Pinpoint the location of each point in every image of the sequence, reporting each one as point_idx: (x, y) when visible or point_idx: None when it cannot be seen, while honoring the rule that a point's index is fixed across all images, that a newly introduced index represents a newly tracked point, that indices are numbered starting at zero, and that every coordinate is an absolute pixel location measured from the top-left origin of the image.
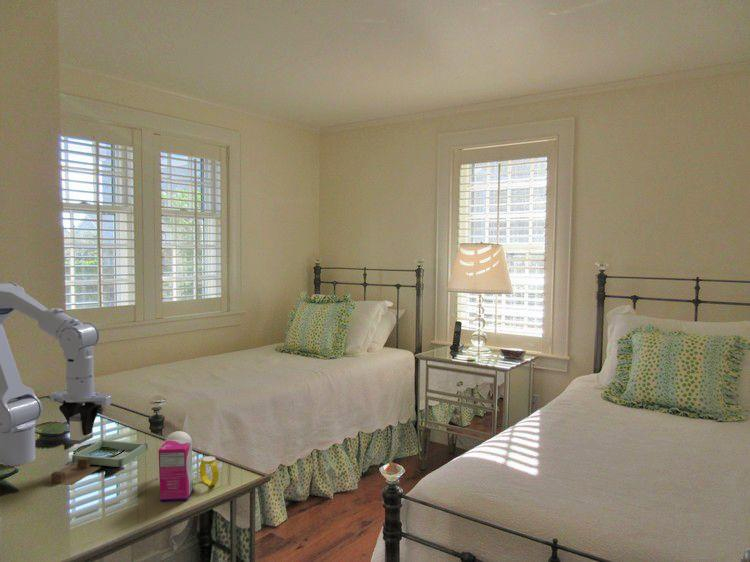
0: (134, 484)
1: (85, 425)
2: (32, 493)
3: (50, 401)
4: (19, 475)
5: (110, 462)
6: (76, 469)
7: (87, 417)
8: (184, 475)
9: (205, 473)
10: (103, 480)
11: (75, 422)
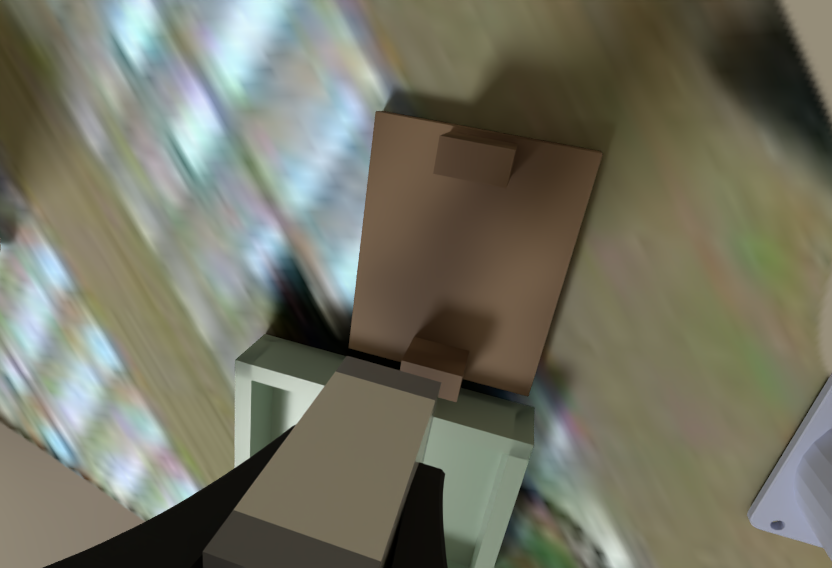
0: (119, 172)
1: (221, 480)
2: (590, 24)
3: None
4: (810, 299)
5: (304, 366)
6: (461, 324)
7: (102, 548)
8: None
9: None
10: (280, 219)
11: (295, 516)
